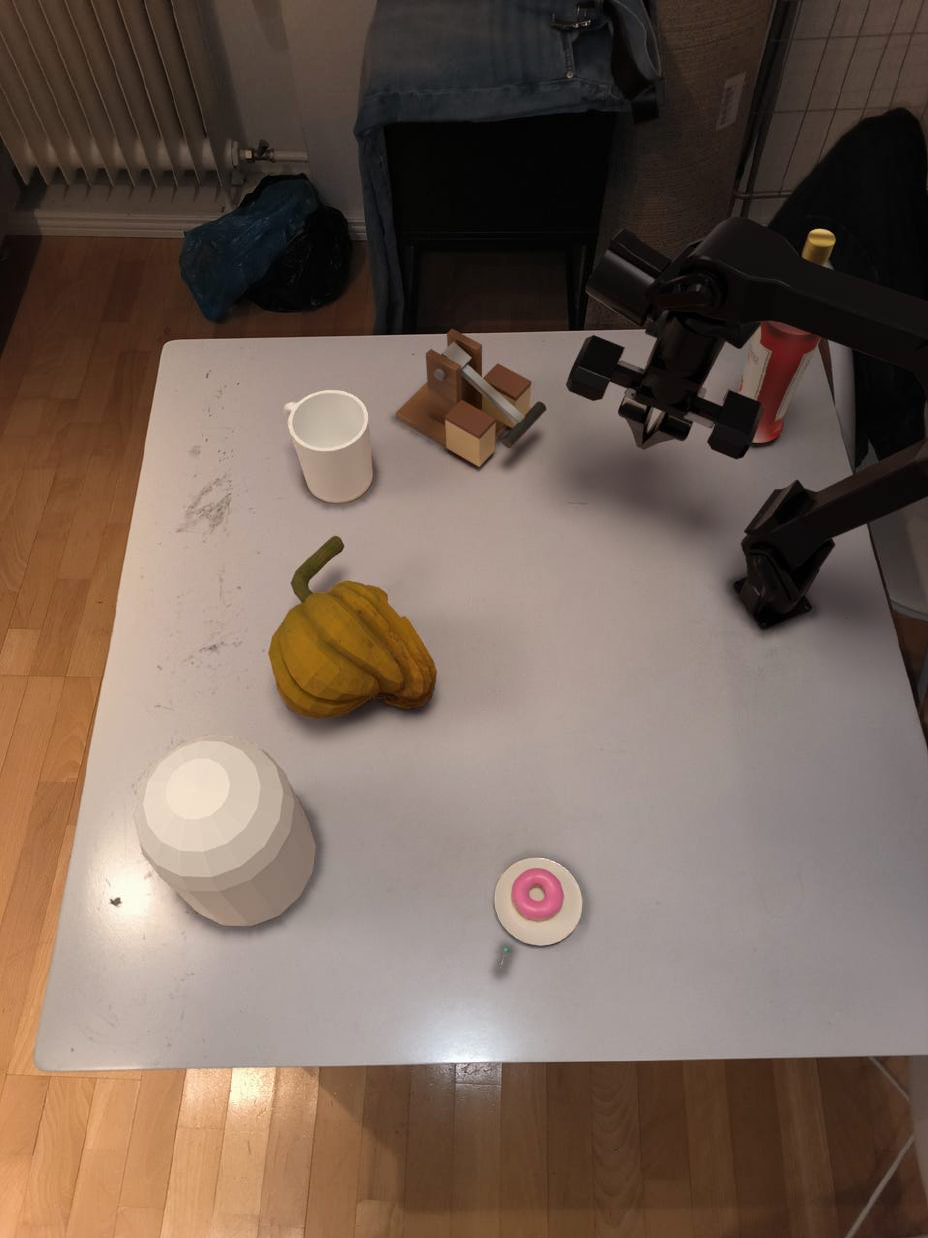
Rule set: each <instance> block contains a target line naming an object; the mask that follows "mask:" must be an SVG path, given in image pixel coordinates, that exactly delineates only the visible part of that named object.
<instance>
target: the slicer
mask: <svg viewBox="0 0 928 1238" xmlns="http://www.w3.org/2000/svg"><path fill="white" fill-rule="evenodd" d="M453 342H455V343H456V344H457V345H458V346H459V347H460V348H461V349H462V350H464V351H465V352H466V353H467V354H468V355H469V356H470V357H471V360H470V362H469V364H468V365H469V366H470V367H471V368H472V369H473V370H474V371H475V372H477V373H478V374H479V375H480V376H481V377H482V378H483V344H481V343H480V342H478V341H476V340H474V339H472V338H471V337H469V336H467V335H465V334H463V333H461V332H459V331H458V330H456V329H454V328H451V329H449V331H448V332H446V344H447V345H446V346H447V348H448V347H449V346H450V345H451V344H452V343H453ZM447 348H446V349H447ZM441 354H442V353H439V352H437V351H435V350H434V349H432V348H430V349H429V350H428V351H426V353H425V364H426V365H425V367H426V382H425V384H423V386H421V387H420V389H418V390H417V391H416V392H415V393H414V394H413V395H412V396H411V397H410V398H409V399H408V400H407V401H406V402H404V404H403V405H402V406H401V407H400V408H399V409H398V410H396V412H395V418H396V420H397V421H399V422H400V423H402V424H404V425H406V426H408V427H409V428H411V429H413V430H414V431H416V432H418V433H420V434H421V435H423V436H425V437H427V438H428V439H430V440H431V441H433V442H435V443H437V444H438V445H440V446H441V447H444V448H445V449H447V450H449V449H448V448H446V425H445V416H446V415H447V414H448V413H449V412H450V411H451V410H452V409H453V408H454V407H455V406H456V405H457V404H458V403H459V402H460V401H461V400H463V401H465V402H467V403H468V404H470V405H472V406H474V407H476V408H477V409H479V410H481V411H482V394H481V393H480V392H479V391H478V390H477V389H476V388H475V387H473V386H472V385H471V384H470V383H469V382H468V381H467V380H466V379H465V378H464V377H462V376H461V365H459V364H458V363H456V362H454V361H452V360H450V359H448V358H447V357H445V356H443V355H441ZM495 423H496V426H495V441H496V440H497V439H498V437H500V435H502V434H503V432H504V431H505V430H506V429H507V428H508V427H509V426H507V425H505V424H504V423H502V422H500V421H498V420H497V419H496V422H495ZM451 452H452V453H454V454H456V453H455V452H453V451H451ZM456 455H458V454H456ZM458 456H459V457H461V456H460V455H458ZM463 459H464V460H466V461H468V460H467V459H465V458H463ZM468 462H469V463H471V464H473V463H472V462H470V461H468Z"/></svg>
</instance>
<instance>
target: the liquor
mask: <svg viewBox="0 0 928 1238" xmlns="http://www.w3.org/2000/svg"><path fill="white" fill-rule="evenodd" d="M836 241H837V240H836V236H835V234H834V233H833V232H831V231H830V230H827V229H824V228H815V229H813V230H811V231H809V233H808V235H807V237H806V241H805V243H804V246H803V249H802V256H801V257H803V258H805V259H807V260H809V261H810V262H813V263H815V264H818V265H821V266H824V265H825V264H826V263H827V261H828V260H829V258H830V256H831V254H832V251H833V248H834V246H835V243H836ZM824 267H825V266H824ZM750 339H751V340H750V342H749V348H748V352H747V356H746V361H745V365H744V368H743V372H742V375H741V380H740V381H739V382H740V383H739V386H738V390H737V393H739V394H742V395H744V396H747V397H749V398H752V399H754V400H757V401H759V402H761V404H762V407H763V410H764V411H763V414H762V417H761V419H760V422H759V425H758V428H757V431H756V434H755V436H754V439H753V441H752V443H757V444H759V443H760V444H761V443H767V442H770V441H773V440H775V439H777V438H778V437H779V436H780V435H781V434H782V432H783V429H784V423H785V422H784V417H785V414H786V412H787V411H788V408H789V406H790V403H791V402H792V399H793V398H794V394H795V393H796V391H797V388H798V386H799V384H800V382H801V380H802V378H803V376H804V374H805V372H806V371H807V368H808V366H809V364H810V362H811V361H812V358H813V357H814V354H815V352H816V349H817V348H818V345H819V344H820V341H821V337H819V336H816V335H813V334H811V333H808V332H805V331H802V330H800V329H797V328H794V327H792V326H789V325H786V324H783V323H778V322H773V321H763V322H761V325H760V327H759V328H758V329H757V331H756V332H755V333H754V334H753V335H752V337H751V338H750Z"/></svg>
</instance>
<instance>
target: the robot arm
mask: <svg viewBox="0 0 928 1238" xmlns="http://www.w3.org/2000/svg"><path fill="white" fill-rule="evenodd" d="M585 292H586V294H587V295H588V296H590V297H591V298H593V299H594V300H596V301H598V302H600V303H601V304H603V305H604V306H606V307H607V308H608V309H610V310H612V311H613V312H615V313H617V314H618V315H620V316H621V317H623V318H625V319H626V320H627V321H629V322H630V323H632V324H633V325H635V326H637V327H639V328H640V329H642V328H643V326H644V325H645V324H646V322H647V320H649V322H647V326H646V328H645V330H644V334H645V335H647V336H649V337H652V338H654V339H655V342H654V344H653V346H652V349H651V351H650V353H649V356H648V358H647V361H646V364H645V367H644V368H642V367H640V366H637V365H635V364H632V363H629V362H627V361H626V360H625V361H624V360H621V359H622V357H623V354H624V352H625V349H626V347H625V346H622V345H620V344H618V343H615V342H614V341H613V342H612V341H610V340H607V339H605V338H602V337H600V336H597V335H595V334H593V335H590V336H588V337H586V338H585V339H584V342H583V344H582V345H581V347H580V350H579V352H578V354H577V356H576V358H575V360H574V362H573V364H572V366H571V368H570V370H569V374H568V377H567V380H566V383H565V387H566V389H567V390H568V392H570V393H572V394H576V395H578V396H579V397H583V398H585V399H587V400H589V401H592V402H595V401H600V400H603V398H604V396H605V394H606V392H607V389H608V386H609V384H610V383H613V384H615V385H616V386H619V387H621V388H624V389H625V390H624V392H623V394H624V395H623V398H622V400H621V402H620V405H619V407H618V409H617V414H618V417H620V418H623V419H624V420H625V421H626V423H627V424H628V426H629V428H630V431H631V433H632V436H633V439H634V442H635V446H636V448H638V449H641V450H643V451H644V450H647V449H649V448H651V447H653V446H656V445H659V444H661V443H664V442H670V441H674V440H675V441H679V442H684V441H687V439H688V437H689V434H690V432H691V430H692V428H693V424H694V423H695V424H698V425H699V426H700V425H701V426H702V427H705V428H708V429H712V430H711V432H710V434H709V436H708V438H707V441H706V443H707V444H708V446H709V448H710V450H712V451H714V452H717V453H719V454H722V455H725V456H727V457H729V458H731V459H734V460H740V459H742V458H744V457H745V456H746V454H747V453H748V451H749V450H750V448H751V446H752V444H753V442H752V441H753V439H754V436H755V434H756V431H757V428H758V425H759V422H760V419H761V417H762V414H763V411H764V410H763V407H762V404H761V402H759V401H757V400H754V399H752V398H749V397H747V396H744V395H742V394H739V393H738V391H734V390H732V389H729V388H728V389H727V390H726V392H725V394H724V396H723V398H722V404H721V405H720V404H718V403H716V402H713V401H712V400H708V399H705V396H706V394H707V388H705V387H703V386H704V385H705V382H706V380H708V377H709V375H710V373H711V371H712V369H713V367H714V365H715V363H716V362H717V359H718V357H719V355H720V353H721V352H722V350H723V347H724V346H725V344H726V343H728V344H729V345H730V346H732V347H734V348H736V349H738V350H740V349H743V348H744V346H745V345H746V344H747V342H749V340H750V339H752V335H753V334H754V333H755V332H756V331H757V329H758V328H759V327H760V325H761V322H763V321H773V322H778V323H783V324H786V325H789V326H792V327H794V328H797V329H800V330H802V331H805V332H808V333H811V334H813V335H816V336H819V337H821V338H822V339H824V340H828V341H830V342H833V343H835V344H838V345H841V346H843V347H846V348H848V349H851V350H855V351H856V352H860V353H862V354H864V355H868V356H871V357H873V358H876V359H879V360H881V361H884V362H887V363H890V364H892V365H895V366H898V367H900V368H903V369H906V370H908V371H912V372H913V374H914V377H916V379H917V381H918V383H919V384H920V386H921V387H922V389H923V391H924V395H925V399H926V405H927V406H928V301H927V300H925V299H922V298H919V297H916V296H913V295H910V294H907V293H904V292H901V291H899V290H895V289H892V288H890V287H886V286H884V285H880V284H878V283H874V282H871V281H869V280H866V279H862V278H860V277H857V276H854V275H850V274H847V273H845V272H842V271H839V270H836V269H833V268H830V267H826V266H821V265H818V264H815V263H813V262H810V261H809V260H807V259H805V258H803V257H802V256H801V255H800V254H799V253H798V252H797V251H796V250H795V248H794V247H793V246H792V245H791V243H790V242H789V241H788V240H787V238H786V237H785V236H783V235H781V234H780V233H778V232H776V231H775V230H772V229H770V228H768V227H766V226H765V225H763V224H761V223H759V222H756V221H755V220H753V219H750V218H748V217H743V216H737V215H736V216H729V217H728V218H727V219H724V220H722V221H721V222H719V223H718V224H716V226H714V228H713V229H712V230H711V231H710V232H709V233H708V234H707V235H706V236H705V237H702V238H700V239H697V240H695V241H692V242H690V243H688V244H687V245H686V246H685V247H684V248H683V249H682V251H680V252H679V254H678V255H677V256H676V257H675V258H674V259H673V260H672V259H671V258H670V257H668V256H666V255H664V253H661V252H659V251H658V250H657V249H655V248H654V247H652V246H650V245H649V244H647V243H646V242H644V241H642V240H641V239H640V238H639V237H638V236H637V235H635V234H634V233H633V232H632V231H629V230H628V229H626V228H621V229H620V230H619V231H618V232H617V233H616V234H615V235H614V236H613V237H612V238H611V239H610V241H609V244H608V247H607V249H606V251H605V252H604V253H603V255H602V256H601V258H600V259H599V261H598V263H597V264H596V267H595V268H594V271H593V272H592V273H591V274H590V275H589V276H588V279H587V282H586V284H585ZM654 409H656V410H658V411H660V413H659V414H658V416H657V418H655V420H654V421H653V423H652V425H651V426H650V424H651V420H652V416H653V413H654ZM926 499H928V437H926V438H923V439H922V440H919V441H918V442H916V443H914V444H911V445H910V446H907V447H906V448H904V449H902V450H899V451H897V452H895V453H893V454H892V455H889V456H887V457H885V458H883V459H881V460H879V461H877V462H875V463H873V464H871V465H869V466H867V467H865V468H863V469H861V470H859V471H857V472H855V473H853V474H851V475H849V476H847V477H845V478H843V479H841V480H839V481H837V482H835V483H833V484H831V485H829V486H827V487H825V488H823V489H821V490H818V491H815V490H812V489H809V488H805V487H804V485H803V484H802V483H801V482H800V480H799V479H795V480H793V481H792V482H791V483H790V484H789V485H788V486H785V487H783V488H775V489H774V490H773V491H772V492H771V494H770V495H769V496H768V497H767V499H766V500H765V501H764V502H763V504H762V506H761V507H760V508H759V510H758V511H757V513H756V514H755V515H754V517H753V518H752V519H751V521H750V522H749V523H748V525H747V526H746V527H745V529H744V530H743V532H744V534H745V535H744V537H743V538H742V539H741V541H740V547H741V550H742V553H743V555H744V557H745V565H746V572H747V576H745V577H743V578H740V579H738V580H735V581H734V582H733V584H732V588H733V589H734V591H735V593H736V594H737V596H738V599H739V601H740V603H741V604H742V605H743V607H744V609H745V610H746V611H747V613H748V615H750V616H751V617H752V618H753V620H754V621H755V622H756V624H757V626H758V627H759V629H761V630H763V631H766V630H769V629H771V628H773V627H776V626H779V625H780V624H781V625H782V624H783V623H786V622H788V621H791V620H793V619H795V618H798V617H800V616H803V615H805V614H808V613H810V612H812V610H813V605H812V603H811V602H810V600H809V599H808V598H807V596H806V595H807V594H808V592H809V591H810V589H811V587H812V585H813V584H814V582H815V580H816V578H817V576H818V575H819V573H820V571H821V568H822V566H823V564H824V563H825V562H826V560H827V559H828V557H829V556H830V554H831V553H832V551H833V550H834V549H835V547H836V542H835V540H834V539H833V538H836V537H838V536H841V535H843V534H845V533H848V532H850V531H852V530H855V529H858V528H860V527H863V526H864V525H867V524H869V523H872V522H874V521H876V520H878V519H881V518H883V517H885V516H888V515H890V514H892V513H895V512H898V511H900V510H902V509H905V508H907V507H910V506H911V505H915V504H917V503H920V502H922V501H924V500H926Z"/></svg>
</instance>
